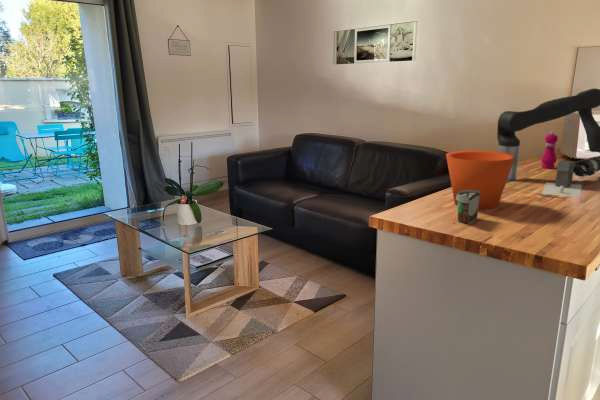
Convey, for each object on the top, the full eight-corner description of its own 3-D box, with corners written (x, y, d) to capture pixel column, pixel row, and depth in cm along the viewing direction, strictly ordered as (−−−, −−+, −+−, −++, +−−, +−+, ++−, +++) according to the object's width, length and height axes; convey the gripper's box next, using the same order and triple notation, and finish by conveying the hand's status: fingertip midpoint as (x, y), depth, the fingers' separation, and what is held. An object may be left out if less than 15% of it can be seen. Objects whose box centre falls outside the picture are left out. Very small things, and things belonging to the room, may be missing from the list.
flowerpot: (489, 217, 159) (494, 163, 154) (430, 204, 178) (433, 155, 173) (521, 204, 174) (527, 154, 169) (464, 193, 193) (467, 148, 188)
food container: (461, 214, 163) (463, 188, 161) (478, 217, 160) (480, 190, 157) (448, 222, 154) (450, 195, 152) (466, 226, 150) (468, 197, 148)
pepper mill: (537, 167, 243) (541, 131, 238) (546, 166, 246) (550, 130, 241) (549, 169, 237) (554, 132, 232) (558, 168, 240) (563, 131, 235)
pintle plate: (580, 200, 177) (581, 190, 176) (540, 196, 185) (542, 186, 184) (581, 187, 197) (582, 178, 196) (546, 184, 204) (547, 175, 203)
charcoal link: (566, 188, 192) (569, 163, 189) (555, 186, 196) (558, 161, 193) (571, 186, 195) (574, 161, 192) (560, 184, 198) (563, 160, 196)
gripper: (570, 157, 209) (553, 161, 200) (603, 161, 198) (587, 165, 189) (567, 173, 211) (551, 177, 202) (601, 177, 200) (584, 182, 191)
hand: (568, 172), depth 196 cm, fingers open, 8 cm apart
